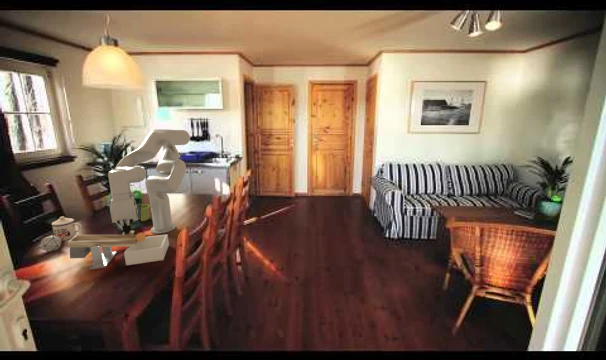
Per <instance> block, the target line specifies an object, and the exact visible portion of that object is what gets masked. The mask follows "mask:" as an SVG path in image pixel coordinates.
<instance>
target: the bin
mask: <svg viewBox="0 0 606 360" xmlns="http://www.w3.org/2000/svg"><path fill="white" fill-rule="evenodd" d="M168 234H169V233H168ZM168 234H160V235H151V236H150V235H149V236H146V238H145V240H144V241H142V242H137V244H136V245H135V246H131V247H126V249H125V250H124V252H123V253H124V260H125V266H131V265H138V264H145V263H151V262H153V263H154V262H158V261H164V260H165V257H166V254H167V251H168V249H169V247H170V243H169V235H168Z"/></svg>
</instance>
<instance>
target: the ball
mask: <svg viewBox="0 0 606 360" xmlns="http://www.w3.org/2000/svg"><path fill="white" fill-rule="evenodd" d="M135 235H136V240H137V241H138V242H142V241H144V240H145V238H146V237H147V236H146V234H145V233H144V232H140V233H137V234H135Z"/></svg>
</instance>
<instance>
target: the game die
mask: <svg viewBox="0 0 606 360" xmlns="http://www.w3.org/2000/svg"><path fill="white" fill-rule="evenodd" d="M63 239H64V238H63ZM63 239H60V238H58V237H56V236H55V235H54V233H51V235H48V236H46V237H40V240H41V241H40V243H39V247H37V248H36V249H37V250H38V249H39V250H40V249H41V250H43V251H44V252H47V254H48V255H50V253H51V252H53V251H56V250H58V249H59V250H61V244H62V240H63Z"/></svg>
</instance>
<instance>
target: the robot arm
mask: <svg viewBox="0 0 606 360" xmlns="http://www.w3.org/2000/svg"><path fill="white" fill-rule="evenodd" d="M190 139H191V136H190V133H189V132H188V131H187V130H185V129H184V130H183V129H160V128H159V129H157V128H156V129H152V130H151V131H150V132H149V133H148V134H147V136H146V137H145V139H144V140H143V142H142V143H141V144H140V146H138V148H137V149H134V150H133V151H131V152H130V153H128V154H126V155H125V156H124V157H123V158H121V159H120V160H119V162H117V164H116V166H115V168H114V169H112V170H110V171H108V173H107V176H108V182H109V188H110V193H111V199H110V206H109V207H110V208H109V209H110V217H111V223H114V224H115V223H117V224H118V225H120V226H121V227H122V233H123V232H124V234H126V233H127V234H129V232H130V231H132V226H131V224H132V223H133V222H136V221H137V220H138V219H139V218H138V216H137V215H138V209H137V206H138V205H137V202H136V200H135V197H134V196H136V195H135V192H132V191H131V185H130V184H135V183H140V182H143V181H144V180H145V179H146V180H145V188H146V191H147V195H148V198H149V205H150V210H151V211H150V212H151V218H152V219H151V220H152V227H151V228H150V232H151V233H152V234H156V235H157V234H160V235H161V234H166V233H169V232H171V231H173V230H175V229H176V224H174V223H173V219H172V212H171V211H172V210H171V203H170V198H169V195H168V194H175V193H177V192H178V191H179V189H180V187H181V185H182V183H183V180H184V178H185V176H186V173H187V165H186V163H185V161H183V160H181V159H179V155H180V153H179V151H178V149H177V147H176V146H185V145H187V144H189V142H190ZM161 149H162V154H161V156H160V158H159V160H158V162H157V165H156V167H155V171H156V173H157V174H155V175H150V176H148V177H147V171H146V170H145V169H144V168H142V167H140V166H137V165H139V164H141V163H144V162H148V161H151V160H153V159H155V157H156V156H157V155H158V153H159V152H160V150H161ZM146 177H147V178H146ZM125 220H126V221H125Z"/></svg>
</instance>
